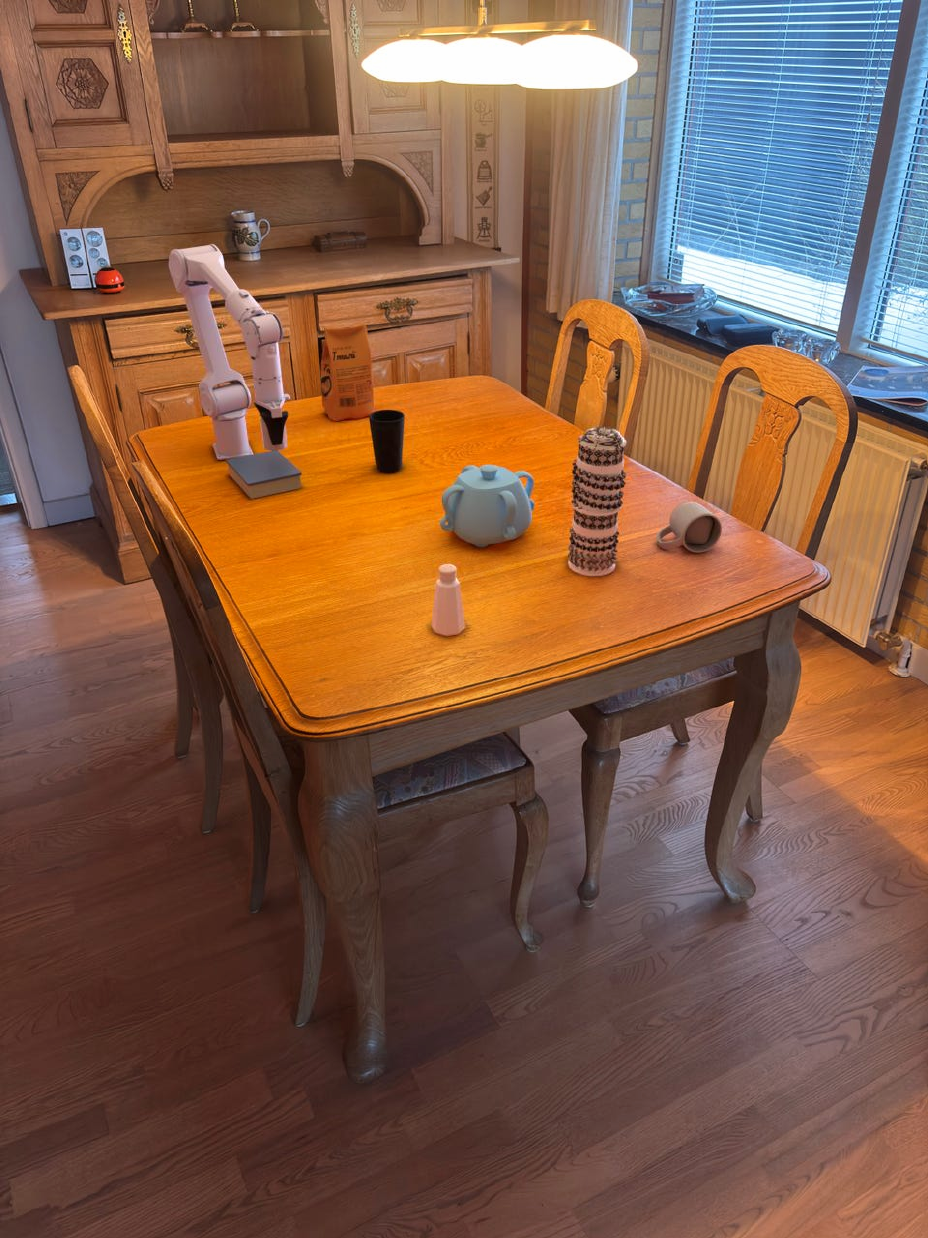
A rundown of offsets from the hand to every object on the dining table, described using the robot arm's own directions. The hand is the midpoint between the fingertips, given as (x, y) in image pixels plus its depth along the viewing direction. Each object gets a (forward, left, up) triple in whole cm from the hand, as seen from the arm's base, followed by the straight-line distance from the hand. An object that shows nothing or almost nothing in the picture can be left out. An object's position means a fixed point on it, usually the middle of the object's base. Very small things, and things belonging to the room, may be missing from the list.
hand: (274, 439), depth 196 cm
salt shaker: (+70, +15, -9) cm, 72 cm away
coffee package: (-33, +24, -9) cm, 42 cm away
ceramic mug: (+58, +66, -9) cm, 88 cm away
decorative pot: (+41, +33, -9) cm, 53 cm away
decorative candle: (+59, +46, -9) cm, 75 cm away
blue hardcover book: (+2, -3, -8) cm, 9 cm away
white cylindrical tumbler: (0, 0, -2) cm, 2 cm away
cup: (+4, +24, -9) cm, 26 cm away
